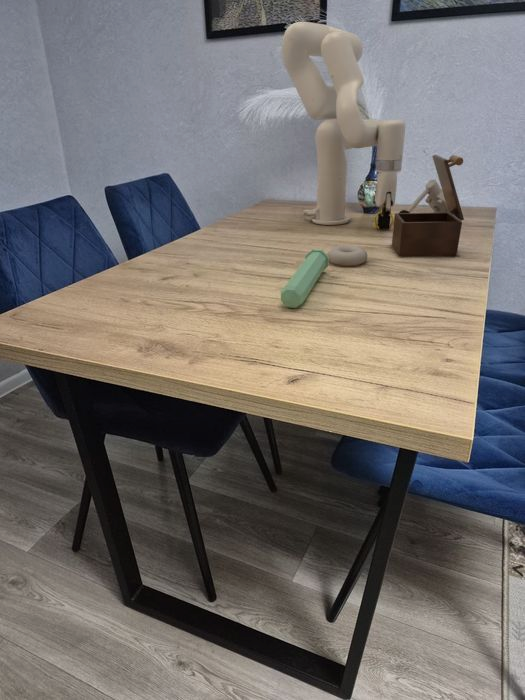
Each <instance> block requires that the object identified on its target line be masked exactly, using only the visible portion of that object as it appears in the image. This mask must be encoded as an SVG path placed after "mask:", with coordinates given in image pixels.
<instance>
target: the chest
mask: <svg viewBox="0 0 525 700" xmlns="http://www.w3.org/2000/svg"><path fill="white" fill-rule="evenodd" d="M393 217H394V223H393V226H392V227H393V228H392V237H391V238H392V240H391V246H392V248H393V250H394V251H395V252H396V254H397V256H398V257H399V258H421V257H422V258H424V257H425V258H428V257H429V258H431V257H432V258H434V257H436V258H437V257H438V258H439V257H457V256H458V250H459V244H460V237H461V231H462V227H463V226H462V225H463V221H461V220H459V219H458V218H457V217H455V216H454V215H452V214H451V213H450V212H446V213H433V212H410V213H399V212H396V213H394V216H393Z"/></svg>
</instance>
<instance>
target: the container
mask: <svg viewBox="0 0 525 700" xmlns="http://www.w3.org/2000/svg"><path fill="white" fill-rule="evenodd" d="M304 256H305V257H304V261H302V263H301V265H300V266H299V267H298V268H297V269H296V271H295V272H294V273H293V275H292V276H291V277H290V279H289V280H288V281H287V283H286V284H285V285H284V286H283V288H282V289H281V290H280V302H281V303H282V304H283V305H284V306H285V307H286V308H294V309H296V308H298V307H299V306H300V305H302V304H303V303H304V302H305V300H306V299H307V297H308V295H309V294H310V292H311V290H312V289H313V287H314V286H315V284H316V283H317V282H318V279H319V278H320V276H321V275H322V274H323V272H324V271H325V270H326V269H327V268H329V262H330V260H329V256H328V253H327V252H325V251H324V250H323V249H318V248H312V249H311V250H310V251H308V253H307V254H306V255H304Z"/></svg>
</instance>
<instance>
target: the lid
mask: <svg viewBox="0 0 525 700" xmlns="http://www.w3.org/2000/svg"><path fill="white" fill-rule="evenodd" d="M431 158H432V160H433V163H434V167H435V170H436V174H437V177H438V180H439V184H440V188H441V189H442V191H443V194H444V198H445V201H446V205H447V208H448V211H449V212H450V213H452V214H453V215H454V216H455V217H456V218H457V219H459V220H460V221H461V222H463V221H464V220H465V218H464V215H463V210H462V207H461V204H460V200H459V196H458V193H457V189H456V186H455V182H454V179H453V175H452V172H451V167H454V166H462V165H463V163H464V158H463V157H461V156H458V155H455V154H452V155H450V157H448V158H449V159H447V158H444V157H442V156H440V155H437V154H434V155H432V157H431Z"/></svg>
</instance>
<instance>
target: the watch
mask: <svg viewBox="0 0 525 700" xmlns="http://www.w3.org/2000/svg"><path fill="white" fill-rule="evenodd" d="M379 213H381V211H380V212H379V211H378V212H377V213H376V215H375V216H374V218H373V224H374V226H375V228H376V229H378V230H380V229H379V226H378V222H377V218H378V214H379ZM390 216H391V218H390V219H391V223H390V228H392V227H393V226H394V217H395V216H394V214H393V213H392V212H391V215H390ZM387 230H388V229H384V231H387Z"/></svg>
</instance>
